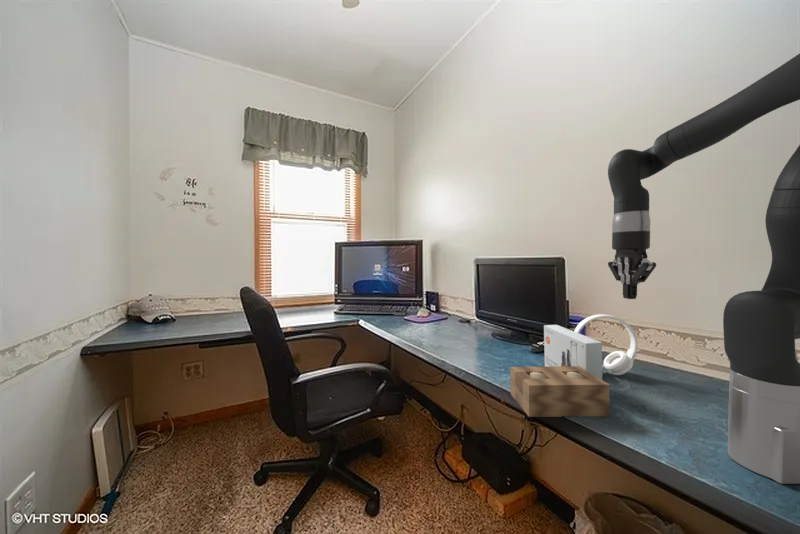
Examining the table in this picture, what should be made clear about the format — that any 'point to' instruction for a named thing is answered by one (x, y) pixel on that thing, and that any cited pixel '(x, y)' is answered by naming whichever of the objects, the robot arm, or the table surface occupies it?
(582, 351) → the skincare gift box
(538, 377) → the dowel
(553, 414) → the socket board
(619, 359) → the headphones
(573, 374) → the dowel
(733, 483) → the table surface
